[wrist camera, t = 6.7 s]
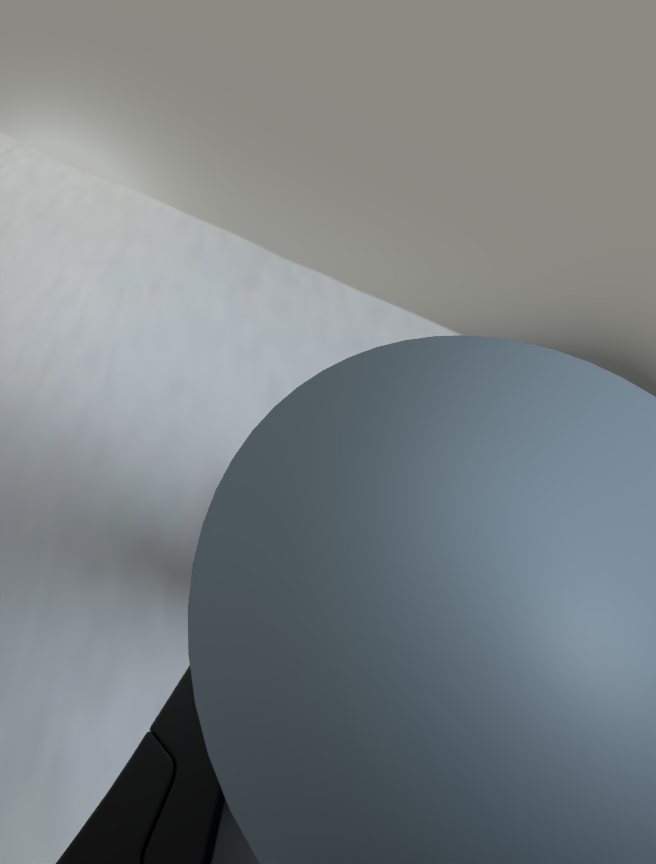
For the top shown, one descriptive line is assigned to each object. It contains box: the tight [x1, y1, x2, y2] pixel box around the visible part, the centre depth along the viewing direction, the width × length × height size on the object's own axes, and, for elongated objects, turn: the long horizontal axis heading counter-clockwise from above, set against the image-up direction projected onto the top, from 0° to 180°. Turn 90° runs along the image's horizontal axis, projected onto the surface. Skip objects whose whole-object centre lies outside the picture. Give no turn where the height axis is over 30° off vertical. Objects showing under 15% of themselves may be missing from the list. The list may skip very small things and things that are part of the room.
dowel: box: [188, 336, 656, 864], centre depth 8 cm, size 4×4×12 cm
